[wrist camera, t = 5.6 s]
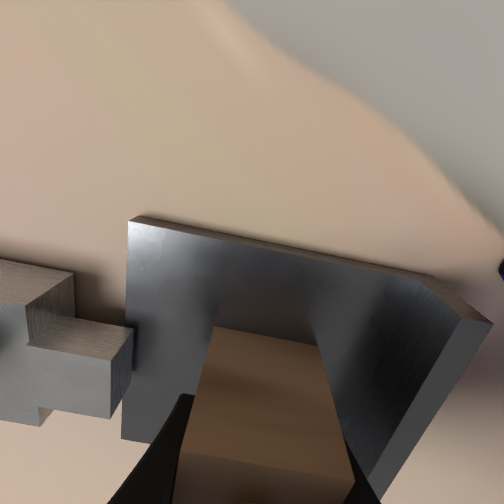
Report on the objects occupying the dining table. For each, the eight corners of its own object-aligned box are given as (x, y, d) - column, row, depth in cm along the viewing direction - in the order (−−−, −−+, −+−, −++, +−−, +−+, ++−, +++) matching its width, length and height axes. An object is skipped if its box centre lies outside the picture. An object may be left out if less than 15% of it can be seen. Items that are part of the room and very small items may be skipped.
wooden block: (291, 418, 13) (310, 607, 8) (200, 402, 13) (155, 583, 8) (318, 346, 12) (366, 522, 6) (214, 325, 11) (169, 488, 6)
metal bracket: (338, 461, 15) (356, 537, 12) (128, 424, 15) (94, 493, 12) (431, 275, 11) (493, 324, 8) (137, 215, 11) (88, 243, 8)
